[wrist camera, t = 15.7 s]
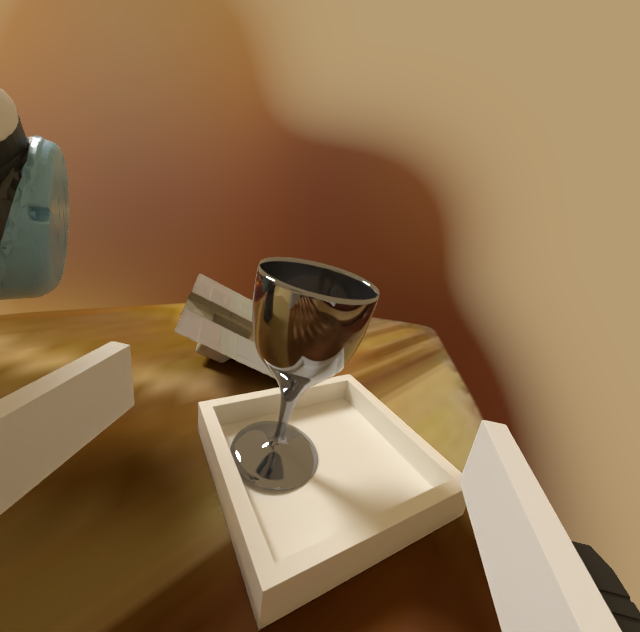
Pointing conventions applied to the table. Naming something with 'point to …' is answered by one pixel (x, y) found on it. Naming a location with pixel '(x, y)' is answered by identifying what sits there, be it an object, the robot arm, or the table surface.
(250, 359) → the grey display stand
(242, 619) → the table surface
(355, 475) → the tray
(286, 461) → the silver metal goblet
